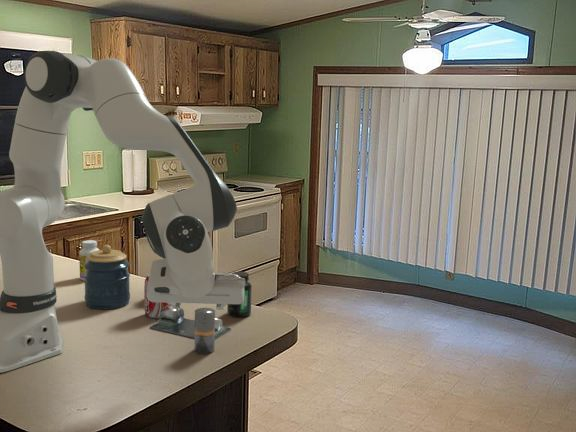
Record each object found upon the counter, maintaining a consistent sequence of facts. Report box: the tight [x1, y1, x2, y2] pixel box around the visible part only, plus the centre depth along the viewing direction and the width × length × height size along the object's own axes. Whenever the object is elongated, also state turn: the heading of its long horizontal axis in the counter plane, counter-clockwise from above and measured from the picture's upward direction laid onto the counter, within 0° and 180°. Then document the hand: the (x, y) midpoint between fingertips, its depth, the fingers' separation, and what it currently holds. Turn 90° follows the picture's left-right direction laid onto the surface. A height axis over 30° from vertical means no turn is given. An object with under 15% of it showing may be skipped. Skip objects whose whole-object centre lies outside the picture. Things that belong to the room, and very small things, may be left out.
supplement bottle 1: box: [78, 239, 100, 282], centre depth 201 cm, size 7×7×13 cm
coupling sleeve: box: [193, 307, 216, 355], centre depth 146 cm, size 5×5×10 cm
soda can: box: [143, 272, 171, 319], centre depth 168 cm, size 7×7×12 cm
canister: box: [84, 244, 131, 310], centre depth 177 cm, size 13×13×18 cm
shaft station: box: [149, 307, 232, 340], centre depth 160 cm, size 10×19×5 cm, turn 64°
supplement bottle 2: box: [226, 271, 253, 319], centre depth 172 cm, size 7×7×12 cm
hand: (198, 306), depth 132 cm, fingers open, 8 cm apart
